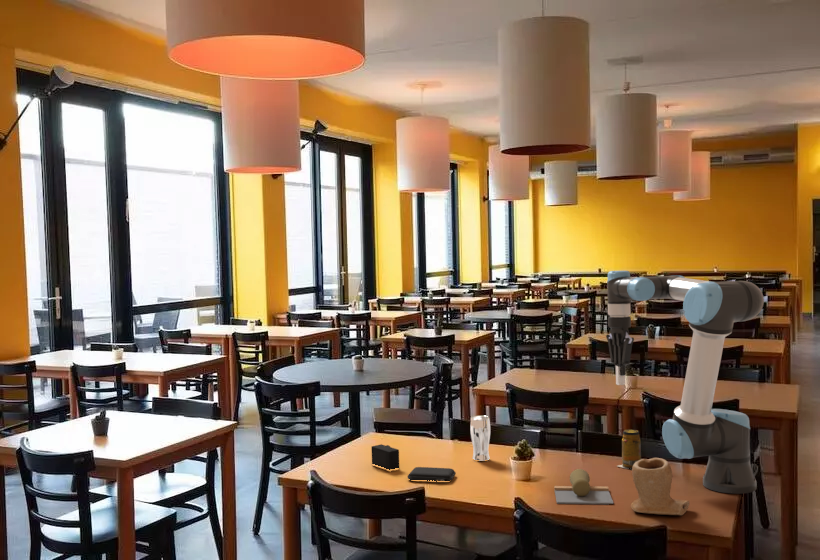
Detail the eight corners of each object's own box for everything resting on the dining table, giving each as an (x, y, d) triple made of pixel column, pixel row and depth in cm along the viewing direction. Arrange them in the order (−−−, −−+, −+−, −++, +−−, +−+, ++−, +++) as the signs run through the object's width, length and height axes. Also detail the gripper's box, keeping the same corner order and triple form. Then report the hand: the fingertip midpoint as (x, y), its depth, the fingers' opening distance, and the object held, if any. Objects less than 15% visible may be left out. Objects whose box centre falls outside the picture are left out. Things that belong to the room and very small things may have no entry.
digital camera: (402, 469, 270) (402, 448, 269) (389, 472, 266) (389, 451, 266) (384, 463, 278) (384, 443, 277) (372, 466, 274) (371, 446, 274)
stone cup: (627, 517, 216) (626, 463, 215) (633, 503, 227) (633, 452, 226) (686, 523, 210) (685, 467, 209) (689, 509, 221) (689, 456, 220)
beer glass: (494, 458, 279) (493, 416, 279) (485, 463, 273) (484, 420, 273) (476, 456, 283) (475, 414, 282) (467, 461, 277) (466, 418, 276)
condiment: (629, 462, 270) (628, 427, 269) (650, 467, 263) (650, 431, 263) (616, 466, 265) (615, 431, 265) (638, 471, 259) (637, 435, 258)
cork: (591, 470, 242) (593, 480, 231) (588, 489, 242) (590, 501, 231) (571, 467, 243) (572, 477, 232) (568, 486, 243) (569, 497, 232)
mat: (554, 489, 242) (554, 485, 242) (607, 490, 240) (607, 486, 240) (556, 503, 229) (556, 499, 229) (613, 504, 227) (613, 500, 227)
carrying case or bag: (405, 483, 253) (450, 486, 250) (404, 474, 253) (449, 476, 250) (413, 474, 264) (456, 476, 260) (413, 465, 264) (456, 467, 260)
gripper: (640, 316, 265) (641, 386, 266) (617, 314, 277) (618, 380, 278) (621, 317, 263) (622, 388, 264) (599, 315, 275) (600, 382, 276)
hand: (620, 384), depth 271 cm, fingers closed
